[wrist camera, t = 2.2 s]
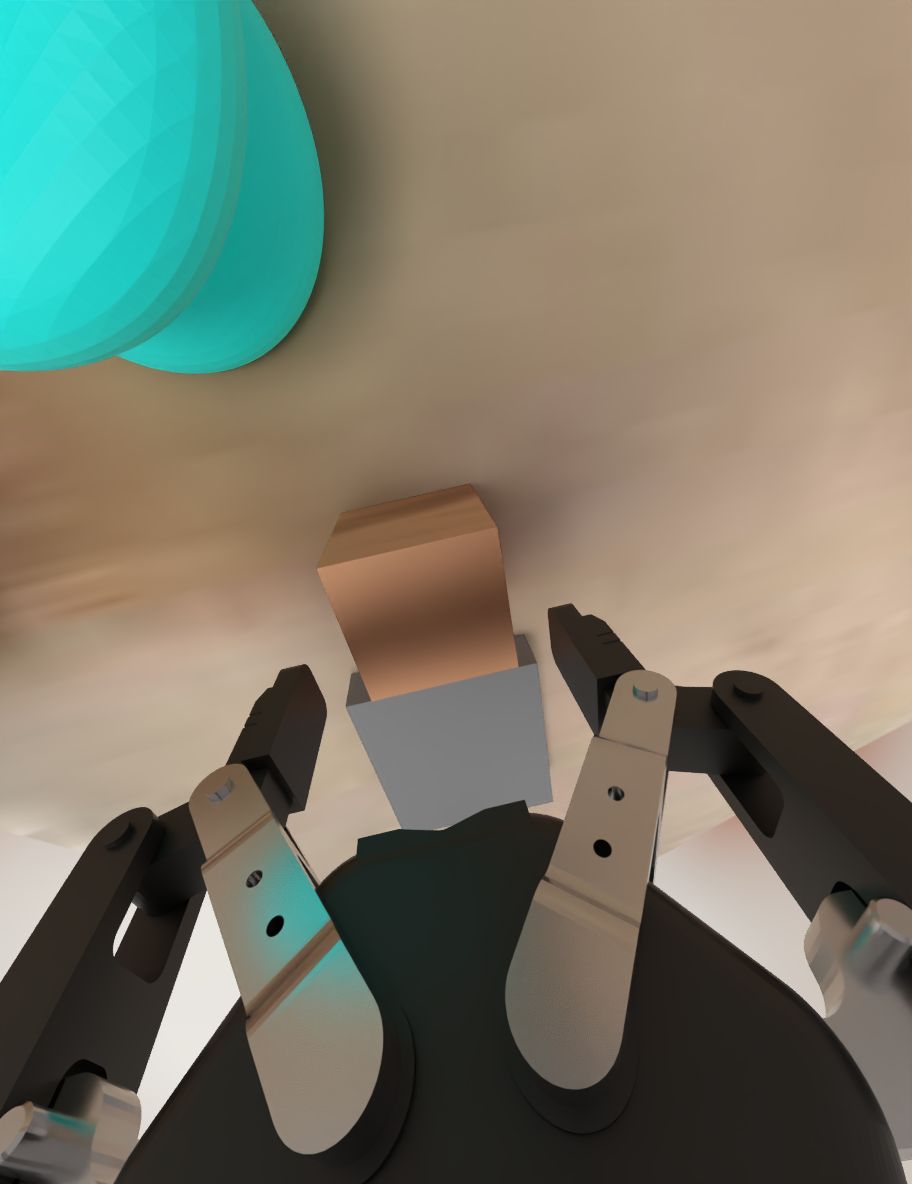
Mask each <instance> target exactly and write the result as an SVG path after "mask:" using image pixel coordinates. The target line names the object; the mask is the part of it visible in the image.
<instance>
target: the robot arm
mask: <svg viewBox="0 0 912 1184" xmlns="http://www.w3.org/2000/svg"><path fill="white" fill-rule="evenodd" d="M548 620H549V630H550V641H551V649H552V653H553V657H554V660H555V663H556V665H557V667H558V669H559V670H560V672H561V674H562V676H563V678H564V680H565V681H566V683H567V685H568V687H569V689H570V691H571V692H572V694H573V696H574V698H575V700H576V702H577V703H578V705H579V707H580V709H581V711H582V713H583V715H584V716H585V718H586V720H587V722H588V724H589V726H590V727H591V729H592V731H593V733H594V736H593V738H592V740H591V742H590V745H589V748H588V751H587V754H586V757H585V760H584V763H583V766H582V769H581V772H580V775H579V778H578V781H577V784H576V787H575V790H574V793H573V796H572V799H571V802H570V805H569V808H568V811H567V814H566V817H565V820H561V819H559V818H556V817H552V816H549V815H543V814H537V813H529V812H528V808H527V805H526V801H525V800H521V801H516V802H512V803H508V804H504V805H499V806H495V807H491V808H487V809H483V810H481V811H480V812H478V813H476V814H474V815H472V816H470V817H468V818H466V819H464V820H462V821H460V822H458V823H456V824H455V825H453V826H451V827H449V828H447V829H444V830H410V829H397V830H393V831H389V832H385V833H380V834H376V835H372V836H368V837H363V838H359V839H358V844H357V854H356V855H355V856H353V857H351V858H350V859H348V860H347V861H345V862H344V863H342V864H341V865H340V866H338V867H337V868H336V869H335V870H334V871H332V872H331V873H330V874H329V875H328V876H327V877H326V878H325V879H324V880H323V881H322V883H321V882H320V881H319V879H318V878H317V876H316V874H315V873H314V871H313V869H312V868H311V866H310V864H309V863H308V861H307V859H306V857H305V856H304V854H303V852H302V851H301V849H300V847H299V846H298V844H297V842H296V841H295V839H294V837H293V836H292V834H291V832H290V831H289V829H288V828H287V826H286V822H287V818H288V815H289V814H291V813H296V812H300V811H304V810H305V806H306V802H307V798H308V794H309V789H310V785H311V781H312V777H313V772H314V768H315V764H316V760H317V756H318V751H319V747H320V743H321V739H322V734H323V730H324V726H325V722H326V717H327V708H326V703H325V699H324V697H323V695H322V693H321V691H320V689H319V687H318V685H317V682H316V680H315V678H314V676H313V674H312V672H311V670H310V668H309V667H308V666H307V665H306V664H303V665H299V666H294V667H290V668H286V669H282V670H281V671H280V672H279V674H278V676H277V679H276V681H275V683H274V686H273V687H272V688H268V689H267V690H266V691H265V692H264V693H263V694H262V695H261V696H260V697H259V698H258V700H257V701H256V702H255V704H254V706H253V708H252V710H251V713H250V717H248V719H247V721H246V723H245V725H244V726H245V728H243V729H242V732H241V734H240V736H239V738H238V740H237V742H236V744H235V746H234V749H233V751H232V753H231V755H230V757H229V759H228V761H227V763H226V765H225V766H224V767H221V768H219V769H217V770H216V771H214V772H213V773H211V774H210V775H208V776H207V777H206V778H205V779H204V780H203V781H202V782H201V783H200V784H199V785H198V786H197V787H196V789H195V790H194V792H193V793H192V795H191V797H190V801H189V802H187V803H185V804H183V805H181V806H179V807H177V808H175V809H173V810H171V811H169V812H167V813H165V814H163V815H161V816H159V817H157V816H156V815H155V814H154V813H153V812H152V811H151V810H150V809H149V808H146V807H139V808H135V809H132V810H129V811H127V812H125V813H123V814H121V815H120V816H118V817H116V818H115V819H113V820H112V821H111V822H109V823H108V824H107V825H106V826H105V827H104V828H102V829H101V830H100V831H99V832H98V833H97V835H96V836H95V837H94V838H93V839H92V841H91V842H90V843H89V845H88V846H87V848H86V850H85V851H84V853H83V854H82V856H81V857H80V859H79V861H78V862H77V864H76V865H75V867H74V868H73V870H72V871H71V873H70V875H69V876H68V878H67V879H66V881H65V882H64V884H63V886H62V887H61V889H60V890H59V892H58V893H57V895H56V897H55V898H54V900H53V901H52V903H51V904H50V906H49V907H48V909H47V911H46V912H45V914H44V915H43V917H42V918H41V920H40V922H39V923H38V925H37V926H36V928H35V929H34V931H33V933H32V934H31V936H30V937H29V939H28V940H27V942H26V944H25V945H24V947H23V948H22V950H21V951H20V953H19V955H18V956H17V958H16V959H15V961H14V962H13V964H12V965H11V967H10V969H9V970H8V972H7V973H6V975H5V976H4V978H3V980H2V981H1V983H0V1184H907V1181H906V1178H905V1174H904V1170H903V1167H902V1163H901V1161H905V1160H912V803H911V802H910V801H909V800H908V799H907V798H906V797H904V796H903V795H902V794H901V793H900V792H899V791H898V790H897V789H895V788H894V787H893V786H892V785H891V784H890V783H888V781H886V780H885V779H884V778H883V777H882V776H881V775H880V774H878V773H877V772H876V771H875V770H874V769H873V768H872V767H871V766H869V765H868V764H867V763H866V762H865V761H864V760H863V759H861V758H860V757H859V756H858V755H857V754H856V753H855V752H854V751H852V750H851V749H850V748H849V747H848V746H847V745H846V744H844V743H843V742H842V741H841V740H840V739H839V738H838V737H837V736H835V735H834V734H833V733H832V732H831V731H830V730H829V729H827V728H826V727H825V726H824V725H823V724H822V723H821V722H819V721H818V720H817V719H816V718H815V717H814V716H813V715H812V714H810V713H809V712H808V711H807V710H806V709H805V708H804V707H802V706H801V705H800V704H799V703H798V702H797V701H796V700H795V699H793V698H792V697H791V696H790V695H789V694H788V693H787V692H785V691H784V690H783V689H782V688H781V687H780V686H779V685H777V684H776V683H775V682H774V681H772V680H770V679H769V678H767V677H764V676H762V675H759V674H757V673H753V672H748V671H740V670H733V671H727V672H723V673H721V674H719V675H718V676H716V678H715V679H714V681H713V686H712V687H681V686H675V685H674V684H673V683H672V682H671V681H670V680H669V679H668V678H666V677H665V676H663V675H661V674H659V673H656V672H652V671H647V670H645V668H644V667H643V666H642V665H641V664H640V662H639V661H638V660H637V659H636V658H635V657H634V655H633V654H632V653H631V652H630V651H629V649H628V648H627V647H626V646H625V645H624V644H623V642H622V641H620V639H619V638H618V636H617V635H616V634H615V633H613V631H612V629H611V628H610V627H609V626H608V625H607V623H606V622H605V621H603V620H601V619H599V618H597V617H595V616H593V615H592V614H590V615H586V616H581V615H580V613H579V612H578V611H577V609H576V608H575V607H574V605H573V604H571V603H570V604H565V605H561V606H557V607H552V608H549V609H548ZM669 771H678V772H692V773H706V774H708V776H709V777H710V778H711V780H712V781H713V783H714V784H715V786H716V787H717V788H718V790H719V791H720V793H721V794H722V796H723V797H724V798H725V800H726V801H727V803H728V804H729V806H730V807H731V808H732V810H733V811H734V813H735V814H736V816H737V817H738V818H739V820H740V821H741V823H742V824H743V826H744V827H745V829H746V830H747V831H748V832H749V834H750V836H751V837H752V839H753V840H754V841H755V843H756V844H757V846H758V847H759V849H760V850H761V851H762V853H763V854H764V856H765V857H766V858H767V860H768V861H769V863H770V864H771V866H772V867H773V868H774V870H775V871H776V873H777V874H778V876H779V877H780V879H781V880H782V881H783V883H784V884H785V886H786V887H787V889H788V890H789V891H790V893H791V894H792V896H793V897H794V899H795V900H796V901H797V903H798V904H799V906H800V907H801V908H802V910H803V911H804V913H805V914H806V916H807V917H808V918H809V920H810V921H811V924H810V927H809V929H808V930H807V933H806V935H805V939H804V950H805V955H806V959H807V961H808V964H809V967H810V968H811V970H812V972H813V974H814V976H815V978H816V980H817V982H818V984H819V986H820V989H821V991H822V994H823V997H824V1002H825V1007H826V1018H824V1019H822V1018H821V1016H820V1015H819V1014H818V1013H817V1012H816V1011H815V1010H814V1009H813V1008H812V1007H811V1006H810V1005H809V1004H808V1003H807V1002H806V1001H805V1000H804V999H803V998H802V997H801V996H800V995H799V994H797V993H796V992H795V991H794V990H793V989H792V988H790V987H789V986H788V985H787V984H785V983H784V982H782V981H781V980H780V979H779V978H777V977H776V976H774V975H773V974H772V973H771V972H769V971H768V970H767V969H765V968H764V967H763V966H761V965H760V964H759V963H757V962H756V961H755V960H753V959H752V958H751V957H749V956H748V955H747V954H745V953H744V952H743V951H741V950H740V949H739V948H737V947H736V946H735V945H733V944H732V943H731V942H729V941H728V940H727V939H725V938H724V937H723V936H722V935H720V934H719V933H717V932H716V931H715V930H714V929H712V928H711V927H709V926H708V925H707V924H706V923H704V922H703V921H702V920H700V919H699V918H698V917H696V916H695V915H694V914H692V913H691V912H690V911H688V910H687V909H686V908H684V907H683V906H681V905H680V904H679V903H678V902H676V901H675V900H674V899H672V898H671V897H670V896H668V895H667V894H666V893H664V892H663V891H662V890H660V889H659V888H658V887H656V886H655V885H654V878H655V872H656V864H657V856H658V848H659V840H660V832H661V825H662V818H663V811H664V804H665V797H666V790H667V783H668V775H669ZM206 891H208V894H209V897H210V900H211V903H212V907H213V910H214V913H215V916H216V919H217V922H218V925H219V928H220V932H221V935H222V938H223V940H224V944H225V947H226V950H227V953H228V957H229V960H230V963H231V966H232V969H233V972H234V975H235V978H236V981H237V985H238V987H239V991H240V994H241V996H240V998H239V999H238V1000H237V1002H236V1003H235V1005H234V1006H233V1008H232V1009H231V1011H230V1012H229V1014H228V1015H227V1016H226V1017H225V1019H224V1020H223V1022H222V1023H221V1025H220V1026H219V1027H218V1029H217V1030H216V1032H215V1033H214V1035H213V1036H212V1037H211V1039H210V1040H209V1042H208V1043H207V1045H206V1046H205V1047H204V1049H203V1050H202V1052H201V1053H200V1054H199V1056H198V1058H197V1059H196V1060H195V1062H194V1063H193V1065H192V1066H191V1067H190V1069H189V1070H188V1072H187V1073H186V1074H185V1076H184V1077H183V1079H182V1080H181V1082H180V1083H179V1085H178V1086H177V1087H176V1089H175V1090H174V1092H173V1093H172V1095H171V1096H170V1097H169V1099H168V1100H167V1102H166V1103H165V1105H164V1106H163V1108H162V1109H161V1110H160V1112H159V1113H158V1114H157V1116H156V1117H155V1119H154V1120H153V1121H152V1123H151V1124H150V1126H149V1127H148V1129H147V1130H146V1131H145V1133H144V1134H143V1136H142V1137H141V1139H140V1140H139V1139H137V1138H138V1134H139V1129H140V1123H141V1105H140V1101H139V1098H138V1096H137V1092H138V1088H139V1086H140V1083H141V1080H142V1077H143V1074H144V1072H145V1069H146V1066H147V1063H148V1060H149V1057H150V1054H151V1051H152V1048H153V1045H154V1042H155V1039H156V1037H157V1034H158V1031H159V1028H160V1025H161V1022H162V1019H163V1016H164V1013H165V1010H166V1007H167V1005H168V1002H169V999H170V996H171V993H172V990H173V987H174V984H175V981H176V978H177V975H178V972H179V970H180V967H181V964H182V961H183V958H184V955H185V952H186V949H187V946H188V943H189V941H190V937H191V935H192V932H193V929H194V926H195V923H196V920H197V917H198V914H199V911H200V908H201V906H202V903H203V900H204V897H205V894H206ZM131 902H132V903H133V904H135V905H136V906H137V909H136V911H135V913H134V916H133V918H132V920H131V922H130V924H129V927H128V928H127V931H126V933H125V935H124V937H123V939H122V941H121V943H120V946H119V948H118V950H117V952H116V954H115V956H113V943H114V939H115V936H116V933H117V931H118V929H119V927H120V925H121V923H122V921H123V918H124V917H125V915H126V913H127V910H128V908H129V906H130V904H131Z"/></svg>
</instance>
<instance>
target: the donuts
mask: <svg viewBox="0 0 912 1184" xmlns="http://www.w3.org/2000/svg"><path fill="white" fill-rule="evenodd" d="M323 235H324V200H323V187H322V180H321V173H320V166H319V161H318V156H317V151H316V147H315V143H314V139H313V135H312V131H311V128H310V125H309V121H308V118H307V115H306V112H305V109H304V106H303V103H302V100H301V97H300V95H299V92H298V89H297V87H296V84H295V82H294V79H293V77H292V74H291V72H290V70H289V67H288V65H287V63H286V61H285V59H284V57H283V55H282V52H281V50H280V49H279V47H278V45H277V43H276V41H275V39H274V37H273V35H272V33H271V32H270V30H269V28H268V26H267V25H266V23H265V21H264V20H263V18H262V16H261V15H260V13H259V11H258V10H257V8H256V7H255V5H254V4H253V2H252V1H251V0H0V370H9V371H50V370H59V369H68V368H73V367H78V366H83V365H88V364H92V363H95V362H98V361H101V360H105V359H108V358H110V357H113V356H119V357H121V358H124V359H126V360H129V361H131V362H134V363H137V364H140V365H143V366H146V367H150V368H154V369H158V370H162V371H168V372H175V373H187V374H203V373H215V372H222V371H227V370H231V369H234V368H237V367H241V366H243V365H246V364H248V363H250V362H252V361H254V360H256V359H258V358H259V357H261V356H263V355H264V354H266V353H267V352H268V351H270V350H271V349H272V348H274V347H275V346H276V345H277V344H278V343H279V342H280V341H281V340H282V339H283V338H284V337H285V336H286V335H287V334H288V333H289V331H290V330H291V329H292V328H293V326H294V325H295V323H296V322H297V320H298V319H299V317H300V316H301V314H302V312H303V310H304V308H305V306H306V304H307V302H308V300H309V298H310V295H311V293H312V290H313V287H314V284H315V281H316V277H317V274H318V269H319V265H320V260H321V254H322V247H323Z"/></svg>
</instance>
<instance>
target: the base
mask: <svg viewBox="0 0 912 1184" xmlns="http://www.w3.org/2000/svg"><path fill="white" fill-rule="evenodd" d="M514 640H515V647H516V654H517V660H518V667H517V668H512V669H508V670H504V671H500V672H495V673H491V674H487V675H483V676H478V677H474V678H470V679H465V680H461V681H457V682H453V683H448V684H444V685H440V686H436V687H431V688H427V689H423V690H418V691H414V692H410V693H406V694H401V695H397V696H393V697H389V698H384V699H380V700H376V701H371V699H370V696H369V694H368V691H367V689H366V687H365V684H364V682H363V680H362V677H361V675H360V672H358V673H353V674H351V679H350V685H349V691H348V696H347V702H346V709H347V711H348V713H349V715H350V717H351V720H352V722H353V724H354V726H355V728H356V731H357V733H358V735H359V737H360V739H361V741H362V744H363V746H364V748H365V750H366V752H367V754H368V757H369V759H370V761H371V763H372V765H373V767H374V770H375V772H376V774H377V776H378V778H379V780H380V783H381V785H382V787H383V789H384V791H385V793H386V796H387V798H388V800H389V802H390V804H391V806H392V809H393V811H394V813H395V815H396V817H397V820H398V822H399V824H400V826H401V828H402V829H410V830H434V829H438V828H442V827H446V826H451V825H455V824H456V823H458V822H460V821H462V820H464V819H466V818H468V817H470V816H472V815H474V814H476V813H478V812H480V811H481V810H483V809H487V808H491V807H495V806H499V805H504V804H508V803H512V802H516V801H521V800H525V801H526V805H527V808H528V807H532V806H537V805H541V804H545V803H549V802H553V796H552V788H551V779H550V770H549V762H548V753H547V744H546V735H545V727H544V718H543V709H542V701H541V692H540V683H539V675H538V666H537V662H536V659H535V657H534V655H533V653H532V651H531V649H530V647H529V644H528V642H527V640H526V638H525V636H524V634H523V635H519V636H514Z"/></svg>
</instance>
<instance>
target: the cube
mask: <svg viewBox="0 0 912 1184" xmlns="http://www.w3.org/2000/svg"><path fill="white" fill-rule="evenodd" d="M316 569H317V572H318V574H319V576H320V579H321V581H322V584H323V586H324V588H325V591H326V593H327V596H328V598H329V600H330V603H331V605H332V608H333V610H334V612H335V615H336V617H337V620H338V622H339V624H340V627H341V629H342V632H343V634H344V636H345V639H346V641H347V644H348V646H349V648H350V651H351V653H352V656H353V658H354V660H355V663H356V665H357V668H358V670H359V672H360V675H361V677H362V680H363V682H364V684H365V687H366V689H367V691H368V694H369V696H370V699H371V701H376V700H380V699H384V698H389V697H393V696H397V695H401V694H406V693H410V692H414V691H418V690H423V689H427V688H431V687H436V686H440V685H444V684H448V683H453V682H457V681H461V680H465V679H470V678H474V677H478V676H483V675H487V674H491V673H495V672H500V671H504V670H508V669H512V668H517V667H518V660H517V654H516V647H515V640H514V634H513V627H512V621H511V614H510V607H509V601H508V594H507V588H506V581H505V574H504V568H503V561H502V555H501V548H500V542H499V535H498V528H497V526H496V524H495V523H494V521H493V519H492V518H491V516H490V515H489V513H488V511H487V510H486V508H485V507H484V505H483V504H482V502H481V500H480V499H479V497H478V496H477V494H476V492H475V491H474V489H473V488H472V486H471V485H470V484H466V485H462V486H458V487H453V488H449V489H445V490H440V491H436V492H431V493H427V494H423V495H418V496H414V497H410V498H405V499H401V500H397V501H392V502H388V503H383V504H379V505H375V506H370V507H366V508H362V509H357V510H353V511H349V512H344V513H341V515H340V517H339V519H338V521H337V524H336V526H335V528H334V530H333V533H332V535H331V537H330V539H329V541H328V544H327V546H326V548H325V550H324V553H323V555H322V557H321V559H320V562H319V564H318V566H317V568H316Z"/></svg>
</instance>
